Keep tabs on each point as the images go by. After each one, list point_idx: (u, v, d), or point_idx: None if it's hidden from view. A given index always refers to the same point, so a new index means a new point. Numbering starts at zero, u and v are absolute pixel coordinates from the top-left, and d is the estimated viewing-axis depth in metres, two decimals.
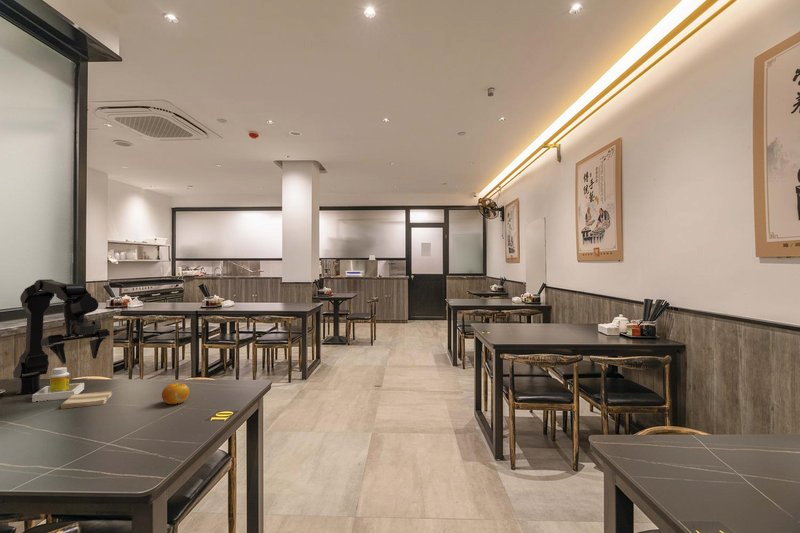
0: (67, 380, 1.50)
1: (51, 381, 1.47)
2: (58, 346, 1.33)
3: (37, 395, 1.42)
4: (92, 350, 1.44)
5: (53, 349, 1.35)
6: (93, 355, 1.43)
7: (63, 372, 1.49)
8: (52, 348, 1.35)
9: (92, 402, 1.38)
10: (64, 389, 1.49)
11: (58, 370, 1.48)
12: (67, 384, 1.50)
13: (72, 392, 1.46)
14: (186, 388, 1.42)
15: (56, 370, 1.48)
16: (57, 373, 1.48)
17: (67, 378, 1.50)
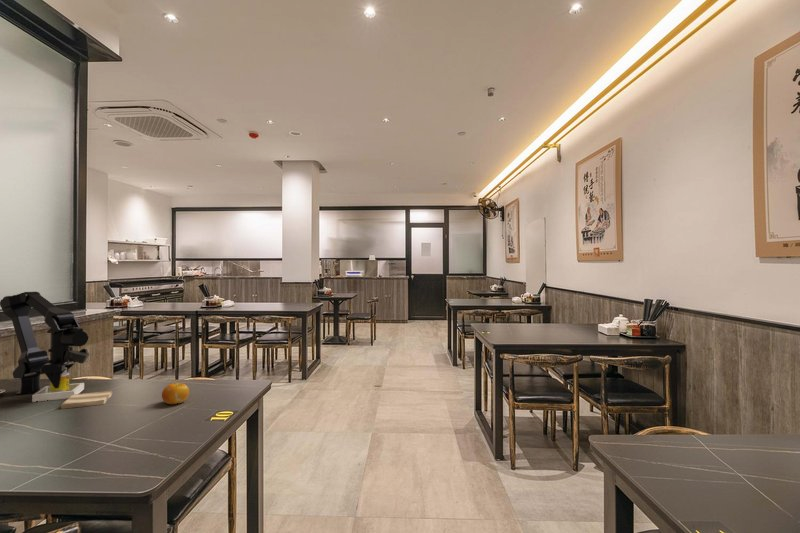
0: (67, 380, 1.50)
1: None
2: (62, 372, 1.46)
3: (37, 395, 1.42)
4: None
5: (49, 374, 1.44)
6: None
7: (63, 372, 1.49)
8: (48, 373, 1.44)
9: (92, 402, 1.38)
10: (64, 389, 1.49)
11: None
12: (67, 384, 1.50)
13: (72, 392, 1.46)
14: (186, 388, 1.42)
15: None
16: None
17: (67, 378, 1.50)
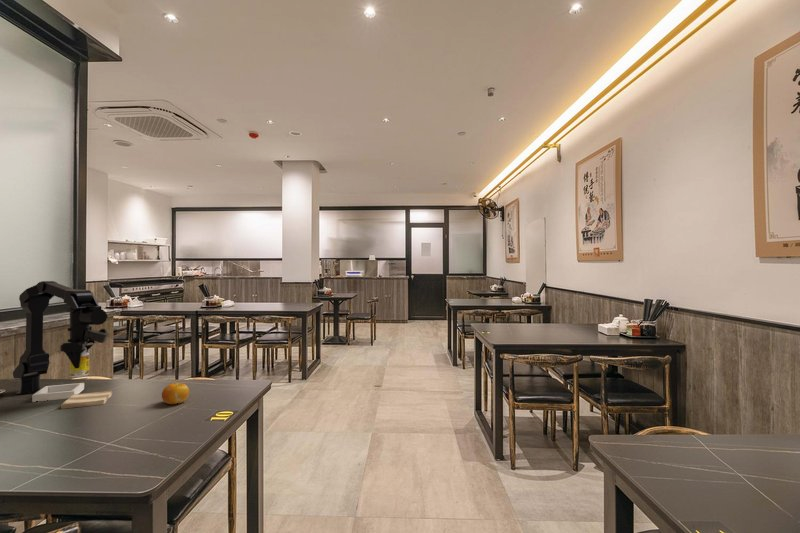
0: (87, 360, 1.45)
1: None
2: (82, 351, 1.42)
3: (37, 395, 1.42)
4: None
5: (69, 353, 1.40)
6: None
7: (83, 352, 1.45)
8: (68, 352, 1.40)
9: (92, 402, 1.38)
10: (84, 369, 1.44)
11: None
12: (87, 364, 1.45)
13: (72, 392, 1.46)
14: (186, 388, 1.42)
15: None
16: None
17: (87, 358, 1.45)
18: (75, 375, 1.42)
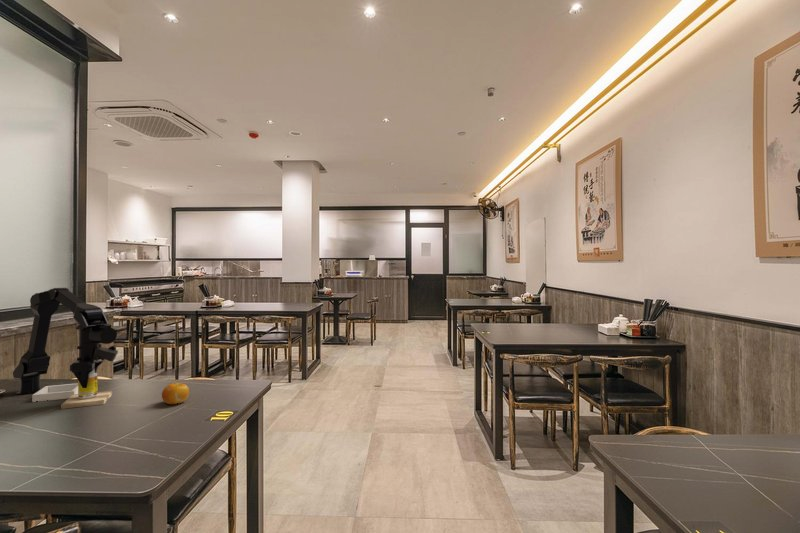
0: (95, 381, 1.43)
1: (79, 382, 1.40)
2: (91, 371, 1.38)
3: (37, 395, 1.42)
4: None
5: (77, 373, 1.37)
6: None
7: (91, 373, 1.42)
8: (76, 372, 1.36)
9: (92, 402, 1.38)
10: (93, 390, 1.42)
11: None
12: (96, 385, 1.43)
13: (72, 392, 1.46)
14: (186, 388, 1.42)
15: None
16: None
17: (95, 379, 1.43)
18: (84, 397, 1.40)
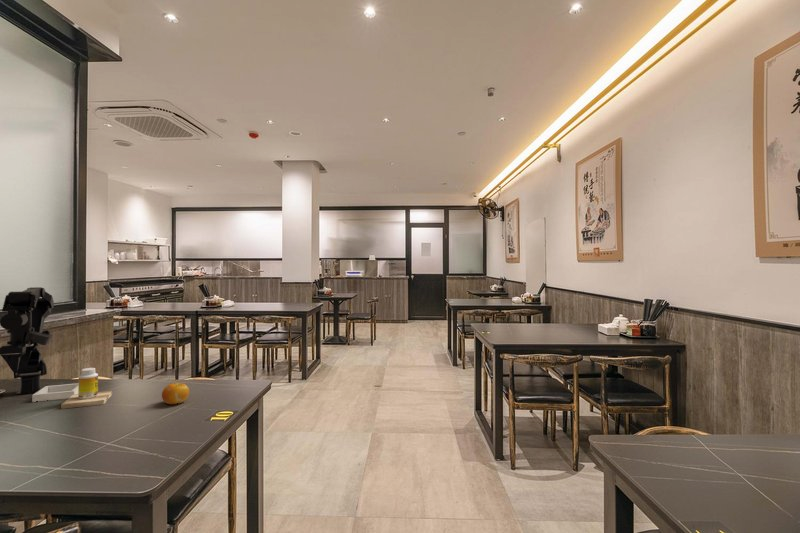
0: (96, 381, 1.43)
1: (80, 382, 1.40)
2: (21, 355, 1.38)
3: (37, 395, 1.42)
4: (22, 357, 1.46)
5: (6, 357, 1.36)
6: (24, 362, 1.46)
7: (92, 373, 1.42)
8: (5, 356, 1.36)
9: (92, 402, 1.38)
10: (93, 391, 1.42)
11: (87, 371, 1.41)
12: (96, 385, 1.43)
13: (72, 392, 1.46)
14: (186, 388, 1.42)
15: (84, 370, 1.41)
16: (86, 374, 1.41)
17: (96, 379, 1.43)
18: (84, 397, 1.40)
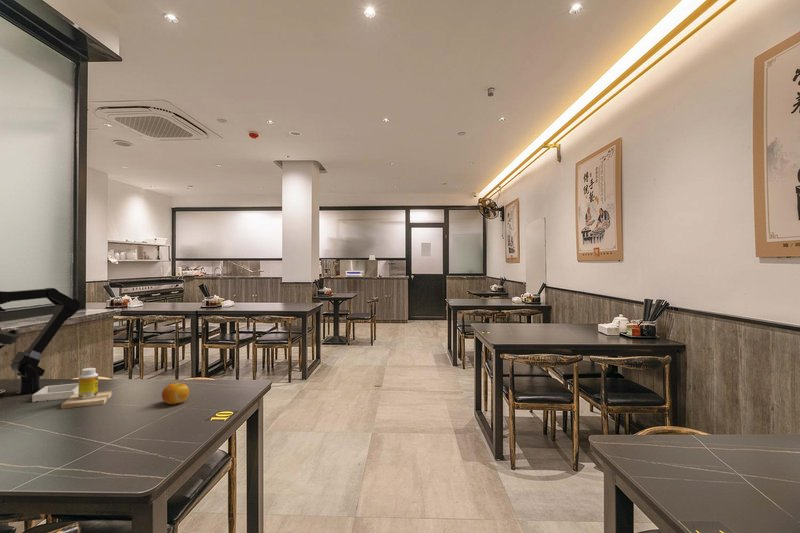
0: (96, 381, 1.43)
1: (80, 382, 1.40)
2: None
3: (37, 395, 1.42)
4: None
5: None
6: None
7: (92, 373, 1.42)
8: None
9: (92, 402, 1.38)
10: (93, 391, 1.42)
11: (87, 371, 1.41)
12: (96, 385, 1.43)
13: (72, 392, 1.46)
14: (186, 388, 1.42)
15: (84, 370, 1.41)
16: (86, 374, 1.41)
17: (96, 379, 1.43)
18: (84, 397, 1.40)
